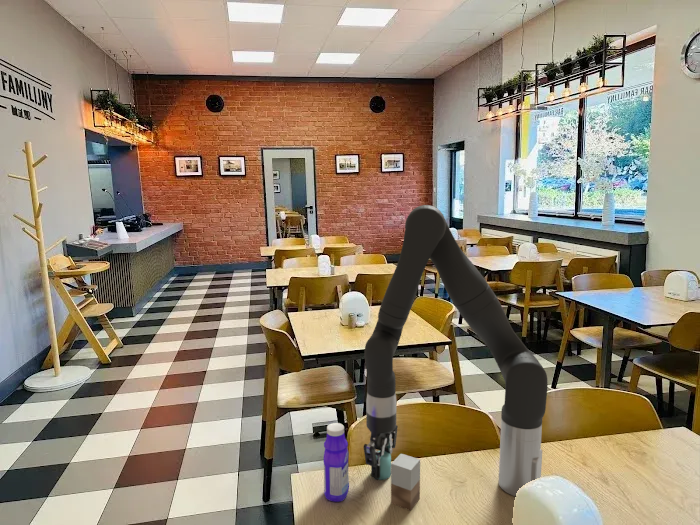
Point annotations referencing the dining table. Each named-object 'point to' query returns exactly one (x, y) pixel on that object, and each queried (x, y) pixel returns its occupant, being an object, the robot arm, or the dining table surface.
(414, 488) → the base block
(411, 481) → the mid block
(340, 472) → the bottle
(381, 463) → the teal rounded cylinder
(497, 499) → the dining table surface
